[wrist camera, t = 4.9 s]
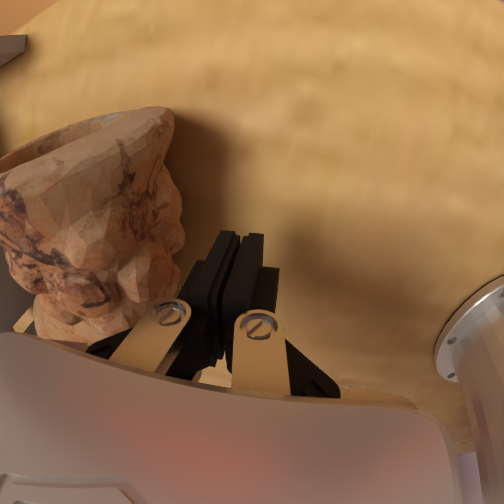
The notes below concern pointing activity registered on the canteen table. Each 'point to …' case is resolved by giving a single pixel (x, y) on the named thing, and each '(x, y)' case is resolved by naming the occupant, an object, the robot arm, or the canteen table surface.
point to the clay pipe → (93, 223)
